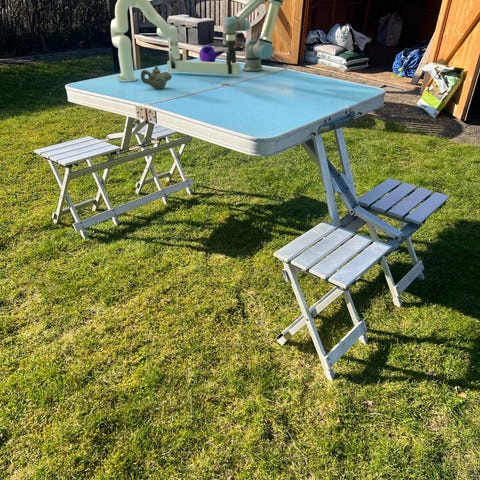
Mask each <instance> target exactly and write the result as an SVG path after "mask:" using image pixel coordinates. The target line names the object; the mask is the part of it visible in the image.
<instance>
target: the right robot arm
mask: <svg viewBox="0 0 480 480" xmlns="http://www.w3.org/2000/svg"><path fill="white" fill-rule="evenodd" d="M284 1H285V0H249V1H247V3H246V4H245V5H243V6H242V8H241V9H239V10H238V11H237V12H236V13H235V14H234V15H233V16H231V17H228V16H227V17H226V18H225V23H224V25H225V26H224V27H225V28H224V29H225V46H226V47H227V50H225V54H226V63H227V65H228V74H232V65H231V63H237V48H236V46H237V41H236V40H237V34H236V33H237V32H246V31H249V30H250V29H251V28H250V27H251V22H250V21H249V20H248V19H247V18H249V17H250V15H251V14H252V13H254V12H255V11H256V10H257V9H258V8H259V7H260V6H261V5H264V4H265V3H266V2H268V6H267V9H266V13H265V19H264V21H263V26H262V30H261V34H260V37H258V39H249V40H248V39H247V40H246V41H245V44H244V45H245V61H244V65H243V71H244V72H260V71H262V70H263V66H262V64H263V65H266V63H265V62H261V60H268V59H269V58H271V57H272V56H273V53H274V46H273V40H272V38H273V35H274V30H275V27H276V23H277V19H278V16H279V11H280V7H281V6H282V5H283V4H284Z"/></svg>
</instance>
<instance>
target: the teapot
mask: <svg viewBox="0 0 480 480" xmlns="http://www.w3.org/2000/svg"><path fill="white" fill-rule="evenodd" d="M146 75H147V76H148V78H146V77H145V76H146ZM172 79H173V78H172V74H171V73H170V72H169V71H163V72H161V69H160V68H159V67H158V66H157V65H154V68H153V69H152V72H151V71H149V70H147V69H142V70H141V72H140V80H141V83H143V84H144V85H145V84H146V85H149V86H150V87H151V88H154V89H155V90H162V89H163V88H165V87H166V85H167V82H168V81H170V80H172Z"/></svg>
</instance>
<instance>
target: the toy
mask: <svg viewBox="0 0 480 480" xmlns="http://www.w3.org/2000/svg"><path fill="white" fill-rule="evenodd" d="M224 53H226V50H218V51H216V50H215V48H214V47H213V46H211V45H204V46H202V47H201V49H200V50H199V52H198V57H199V60H200V62H216V59H217V58H218V57H219V56H221V55H223V54H224Z"/></svg>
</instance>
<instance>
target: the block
mask: <svg viewBox="0 0 480 480" xmlns="http://www.w3.org/2000/svg"><path fill="white" fill-rule="evenodd" d="M174 63H175V69H172V68H171V62H170V60H167V61H166V67H167V72H168V73H170V72H171V73H189V74H191V73H192V74H207V75H210V74H211V75H229V76H238V75H240V73H241V71H240V70H241V69H240V63H239V62H236V63H232V62H231V65H232V74H228V65H227V62H220V61H219V62H218V61H215V62H202V61H201V60H200V61H199V60H198V61H197V60H179V61H177V60H175V61H174Z"/></svg>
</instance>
